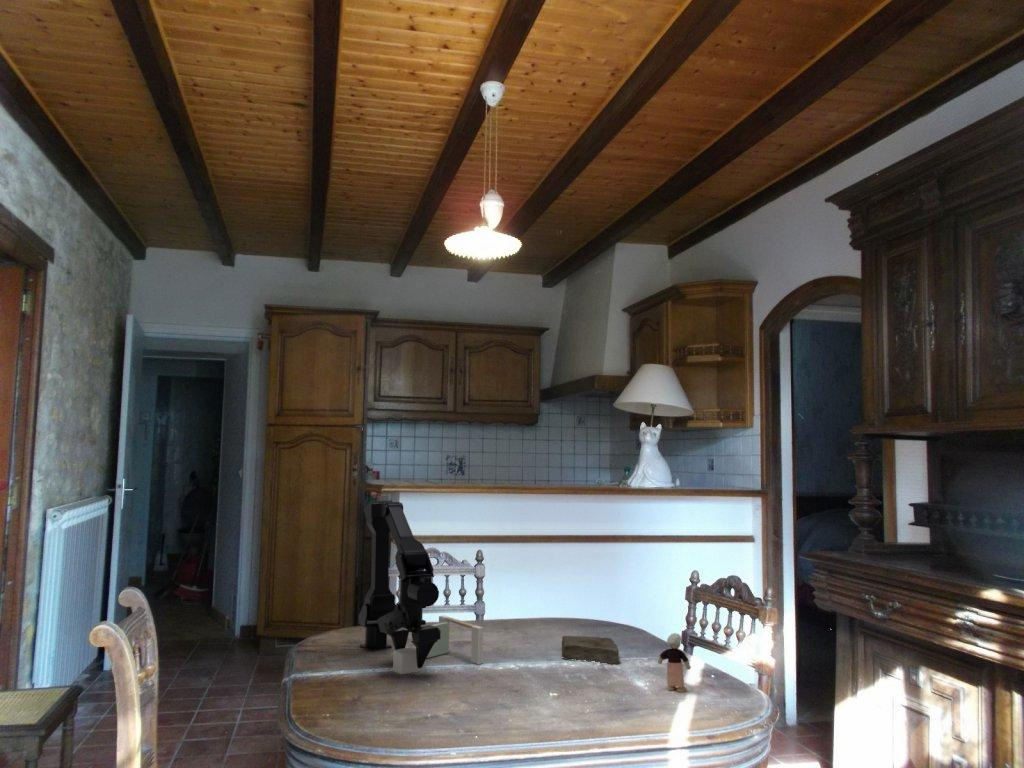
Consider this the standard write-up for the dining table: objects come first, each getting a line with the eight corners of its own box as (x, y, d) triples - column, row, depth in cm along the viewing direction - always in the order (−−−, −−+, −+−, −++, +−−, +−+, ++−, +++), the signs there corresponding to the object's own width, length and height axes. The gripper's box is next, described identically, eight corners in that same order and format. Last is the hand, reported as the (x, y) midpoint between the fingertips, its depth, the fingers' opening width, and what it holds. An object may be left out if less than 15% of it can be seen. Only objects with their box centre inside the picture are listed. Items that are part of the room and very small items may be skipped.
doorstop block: (392, 670, 196) (393, 650, 196) (417, 666, 200) (417, 645, 200) (401, 674, 192) (402, 653, 193) (425, 669, 197) (426, 649, 197)
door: (441, 650, 214) (442, 621, 215) (448, 652, 212) (448, 622, 213) (413, 658, 206) (414, 627, 207) (419, 659, 205) (420, 628, 205)
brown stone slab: (619, 666, 204) (619, 649, 204) (561, 664, 205) (561, 648, 205) (614, 649, 221) (614, 634, 221) (561, 648, 221) (561, 633, 222)
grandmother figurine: (692, 688, 184) (692, 632, 185) (690, 693, 181) (690, 636, 182) (658, 685, 187) (658, 629, 188) (656, 689, 183) (656, 633, 184)
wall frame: (438, 649, 216) (438, 616, 217) (442, 649, 217) (443, 615, 217) (477, 664, 202) (478, 628, 203) (482, 663, 203) (483, 627, 204)
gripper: (364, 596, 200) (362, 660, 199) (403, 609, 185) (401, 678, 184) (402, 592, 207) (400, 654, 206) (442, 604, 192) (441, 670, 191)
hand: (409, 663), depth 196 cm, fingers open, 9 cm apart
